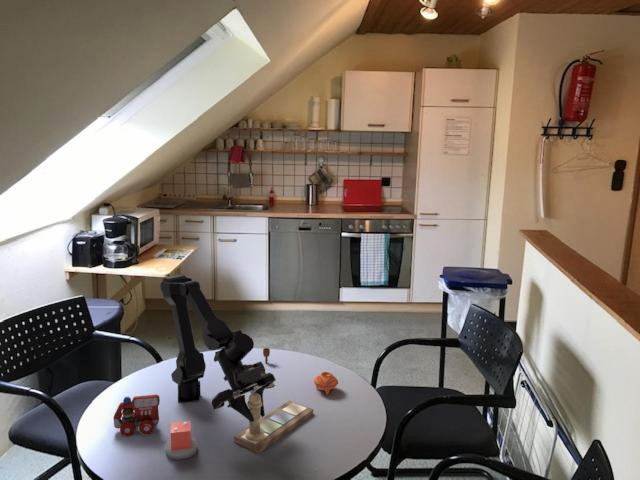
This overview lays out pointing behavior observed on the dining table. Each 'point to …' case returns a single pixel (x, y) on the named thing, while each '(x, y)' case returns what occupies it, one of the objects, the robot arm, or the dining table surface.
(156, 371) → the dining table surface
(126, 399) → the toy fire truck
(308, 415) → the game board
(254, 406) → the pawn
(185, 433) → the orange cube on disc
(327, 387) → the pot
